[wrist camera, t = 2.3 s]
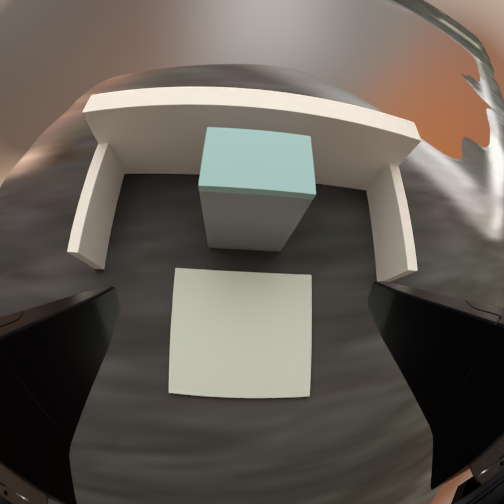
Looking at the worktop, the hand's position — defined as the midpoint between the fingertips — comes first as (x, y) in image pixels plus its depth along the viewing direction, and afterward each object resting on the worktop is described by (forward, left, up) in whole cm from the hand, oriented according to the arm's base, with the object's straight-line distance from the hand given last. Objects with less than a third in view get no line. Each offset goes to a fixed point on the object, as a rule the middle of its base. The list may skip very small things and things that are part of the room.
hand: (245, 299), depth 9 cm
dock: (+3, -9, -13) cm, 16 cm away
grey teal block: (+2, -8, -13) cm, 15 cm away
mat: (-1, +1, -13) cm, 13 cm away
